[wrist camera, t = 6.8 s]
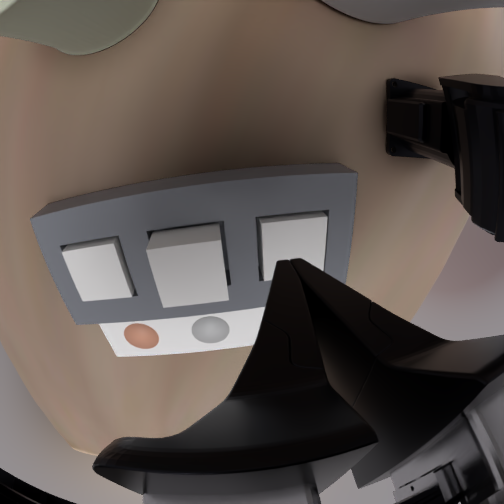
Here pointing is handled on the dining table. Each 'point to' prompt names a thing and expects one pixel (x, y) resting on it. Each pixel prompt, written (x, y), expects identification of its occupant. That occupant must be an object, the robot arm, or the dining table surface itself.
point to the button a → (99, 269)
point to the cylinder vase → (405, 8)
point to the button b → (291, 239)
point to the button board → (195, 214)
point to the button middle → (188, 265)
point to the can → (73, 22)
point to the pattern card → (184, 333)
